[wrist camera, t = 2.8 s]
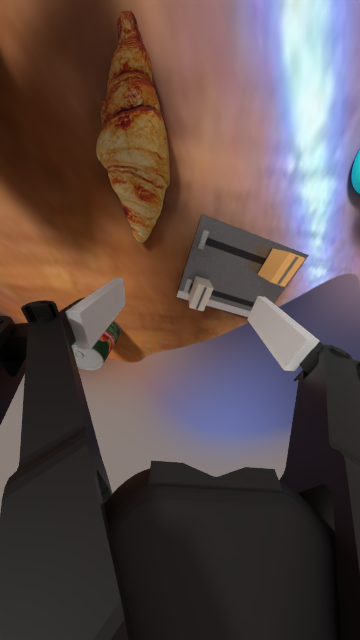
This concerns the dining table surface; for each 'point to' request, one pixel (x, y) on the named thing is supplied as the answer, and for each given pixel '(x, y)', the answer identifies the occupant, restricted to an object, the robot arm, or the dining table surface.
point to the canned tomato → (97, 349)
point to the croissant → (134, 132)
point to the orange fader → (280, 267)
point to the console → (230, 266)
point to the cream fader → (200, 293)
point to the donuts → (356, 173)
